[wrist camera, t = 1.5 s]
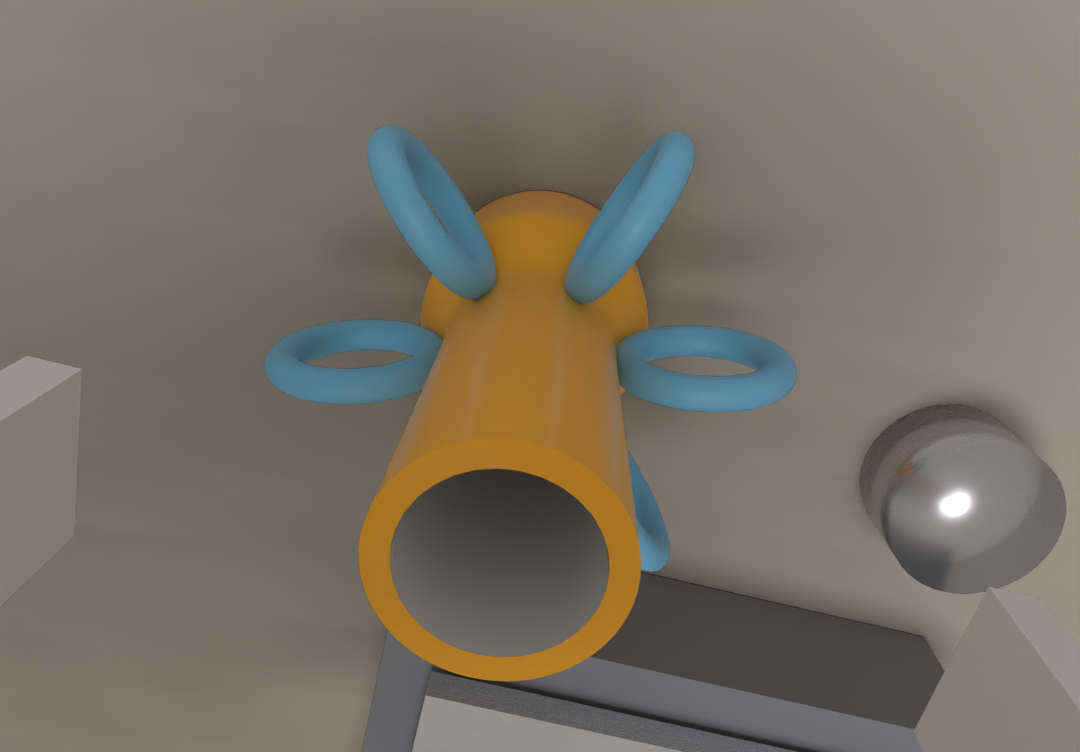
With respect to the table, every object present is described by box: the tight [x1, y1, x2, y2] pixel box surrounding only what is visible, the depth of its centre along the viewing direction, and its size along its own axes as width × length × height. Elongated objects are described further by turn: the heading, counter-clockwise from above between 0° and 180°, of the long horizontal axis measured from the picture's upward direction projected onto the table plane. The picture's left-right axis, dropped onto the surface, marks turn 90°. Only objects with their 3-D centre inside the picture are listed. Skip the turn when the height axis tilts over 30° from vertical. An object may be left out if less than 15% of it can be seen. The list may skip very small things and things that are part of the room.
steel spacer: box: [859, 404, 1066, 594], centre depth 27 cm, size 5×5×3 cm
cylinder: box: [265, 125, 797, 681], centre depth 19 cm, size 12×10×15 cm
